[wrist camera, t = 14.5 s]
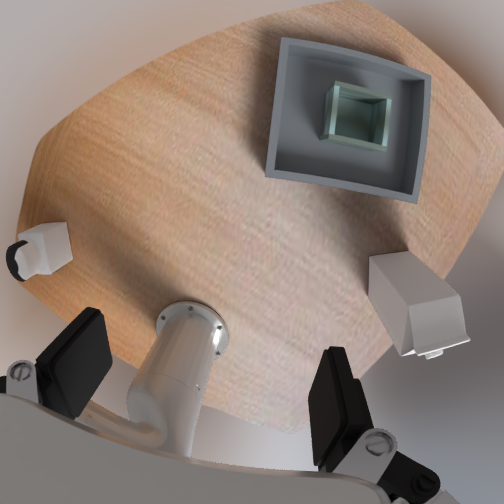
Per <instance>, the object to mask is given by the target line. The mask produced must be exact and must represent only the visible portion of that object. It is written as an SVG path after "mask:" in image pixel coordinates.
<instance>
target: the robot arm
mask: <svg viewBox="0 0 504 504" xmlns="http://www.w3.org/2000/svg"><path fill="white" fill-rule="evenodd" d="M156 333H157V336H158V337H157V338H156V340H155V342H154V344H153V345H152V347H151V349H150V351H149V352H148V354H147V356H146V358H145V360H144V361H143V363H142V365H141V367H140V369H139V370H138V372H137V374H136V376H135V378H134V379H133V381H132V383H131V385H130V387H129V389H128V394H127V409H128V414H129V417H130V421H129V420H127V419H125V418H122V417H120V416H118V415H116V414H114V413H113V412H111V411H109V410H107V409H105V408H104V407H102V406H100V405H98V404H97V403H95V402H93V401H91V400H90V399H91V397H92V396H93V394H94V392H95V391H96V389H97V388H98V386H99V385H100V383H101V382H102V380H103V379H104V377H105V375H106V374H107V372H108V371H109V369H110V368H111V366H112V355H111V351H110V346H109V341H108V336H107V331H106V326H105V320H104V315H103V314H102V313H101V311H100V310H99V309H95V308H92V307H87V308H85V309H84V310H83V311H82V312H81V313H80V314H79V315H78V316H77V317H76V318H75V319H74V320H73V321H72V322H71V323H70V324H69V325H68V326H67V327H66V328H65V329H64V330H63V331H62V332H61V333H60V334H59V335H58V336H57V337H56V338H55V340H54V341H53V342H52V343H51V344H50V345H49V346H48V347H47V348H46V349H45V350H44V351H43V352H42V353H41V354H40V355H39V356H38V358H37V359H36V362H37V363H36V364H35V365H34V364H33V363H31V362H30V361H27V360H20V361H17V362H14V363H13V364H12V365H11V366H10V367H9V369H8V370H7V376H2V377H0V504H460V503H459V502H458V501H457V500H456V499H455V498H454V497H453V496H451V495H450V493H448V492H447V491H446V490H445V491H442V490H441V489H440V479H439V477H438V475H437V474H436V473H435V472H433V471H432V470H430V469H428V468H426V467H425V466H423V465H421V464H419V463H417V462H415V461H413V460H412V459H410V458H408V457H407V456H405V455H403V454H401V453H400V452H398V451H396V450H397V441H396V438H395V437H394V436H393V435H392V434H391V433H390V432H388V431H387V430H384V429H380V428H374V426H373V423H372V419H371V416H370V412H369V409H368V405H367V402H366V398H365V395H364V392H363V388H362V385H361V382H360V380H359V379H354V378H353V375H352V372H351V368H350V365H349V362H348V358H347V355H346V352H345V349H344V347H334V346H330V347H329V349H328V350H326V349H325V350H324V352H323V355H322V358H321V361H320V364H319V367H318V370H317V373H316V375H315V378H314V381H313V384H312V387H311V390H310V392H309V396H308V405H309V415H310V425H311V437H312V449H313V462H314V465H315V466H318V469H319V470H318V471H319V472H314V471H294V470H293V471H292V470H275V469H264V468H254V467H244V466H236V465H229V464H222V463H216V462H210V461H204V460H199V459H194V458H191V455H192V444H193V438H194V432H195V428H196V424H197V420H198V416H199V412H200V408H201V405H202V401H203V397H204V394H205V390H206V386H207V383H208V379H209V375H210V372H211V368H212V364H213V361H214V360H216V359H218V358H219V357H221V356H222V354H223V353H224V352H225V350H226V348H227V345H228V339H229V335H228V330H227V327H226V325H225V323H224V321H223V320H222V318H221V317H220V316H219V315H218V314H217V313H216V312H214V311H213V310H212V309H210V308H208V307H207V306H205V305H202V304H199V303H196V302H191V301H181V302H175V303H173V304H170V305H169V306H167V307H166V308H165V309H164V310H163V311H162V312H161V313H160V315H159V317H158V319H157V322H156Z"/></svg>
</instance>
